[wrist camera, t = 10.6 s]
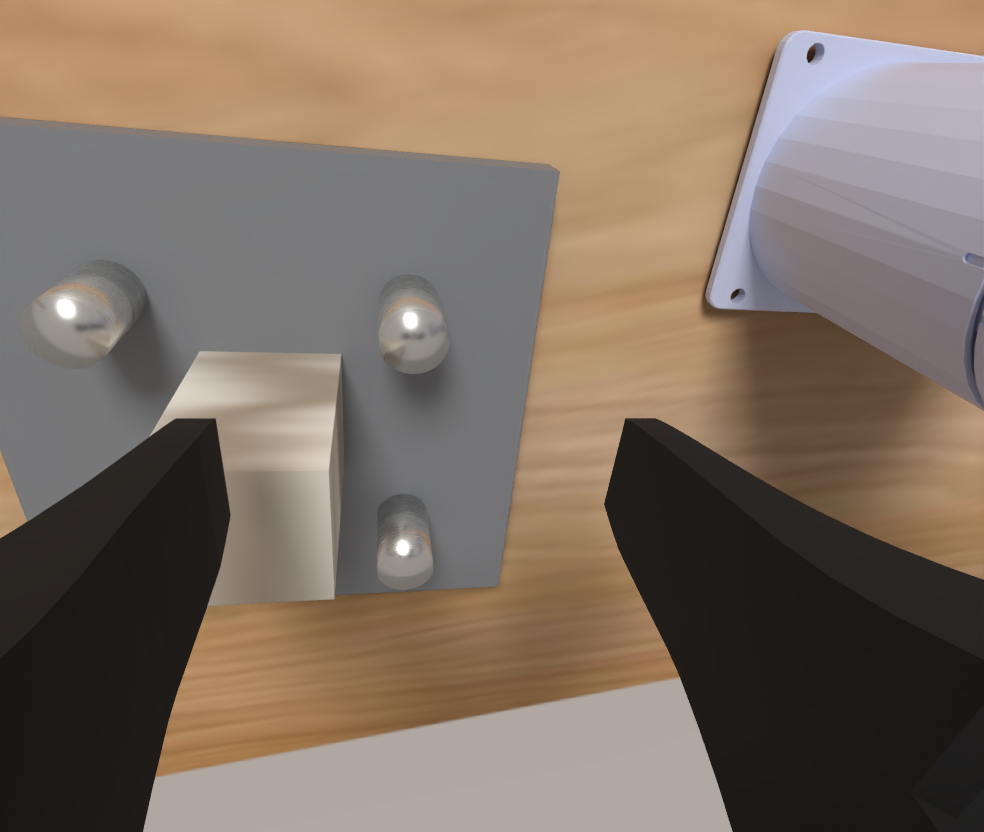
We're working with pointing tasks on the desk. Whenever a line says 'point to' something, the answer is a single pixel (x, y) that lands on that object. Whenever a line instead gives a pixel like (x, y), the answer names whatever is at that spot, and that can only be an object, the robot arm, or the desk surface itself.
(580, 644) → the desk surface
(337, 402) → the cream block
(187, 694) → the desk surface
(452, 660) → the desk surface
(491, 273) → the peg board
